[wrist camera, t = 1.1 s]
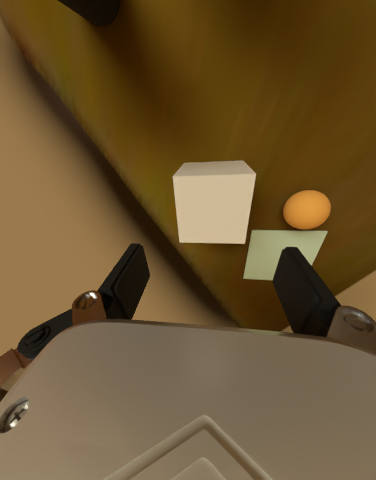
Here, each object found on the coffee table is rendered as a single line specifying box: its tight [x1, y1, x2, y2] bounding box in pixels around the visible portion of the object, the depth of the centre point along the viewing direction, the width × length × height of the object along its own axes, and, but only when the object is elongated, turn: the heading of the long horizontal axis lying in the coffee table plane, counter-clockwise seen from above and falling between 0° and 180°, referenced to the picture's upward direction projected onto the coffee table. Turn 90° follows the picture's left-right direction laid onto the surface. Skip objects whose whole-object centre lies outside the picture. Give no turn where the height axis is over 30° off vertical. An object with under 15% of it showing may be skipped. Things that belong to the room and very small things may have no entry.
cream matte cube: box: [173, 160, 256, 244], centre depth 21 cm, size 8×8×8 cm
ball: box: [283, 190, 331, 229], centre depth 21 cm, size 5×5×5 cm
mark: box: [243, 230, 328, 280], centre depth 29 cm, size 11×11×1 cm
